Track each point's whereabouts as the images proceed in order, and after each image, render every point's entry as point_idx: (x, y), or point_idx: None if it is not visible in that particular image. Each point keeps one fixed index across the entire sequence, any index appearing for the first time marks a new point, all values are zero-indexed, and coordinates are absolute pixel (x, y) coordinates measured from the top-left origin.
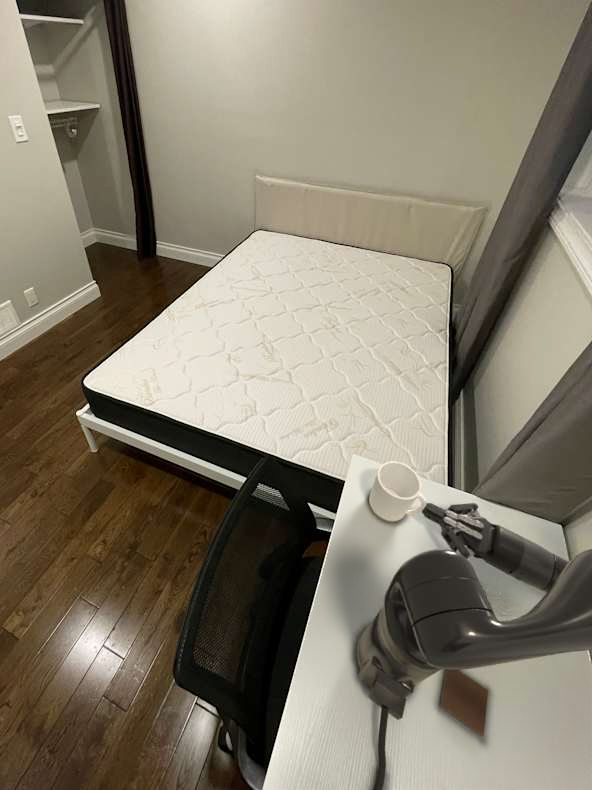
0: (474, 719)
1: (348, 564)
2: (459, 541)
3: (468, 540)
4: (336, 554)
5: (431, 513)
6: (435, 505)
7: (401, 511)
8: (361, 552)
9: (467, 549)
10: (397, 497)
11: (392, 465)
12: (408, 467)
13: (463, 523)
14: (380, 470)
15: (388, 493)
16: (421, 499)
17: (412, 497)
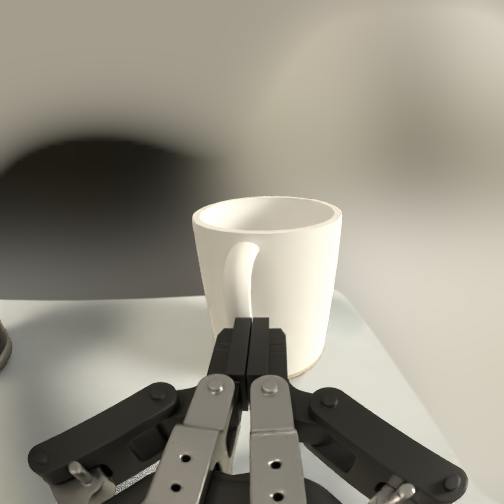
0: None
1: (99, 316)
2: (95, 438)
3: (121, 495)
4: (114, 302)
5: (228, 342)
6: (285, 348)
7: (215, 311)
8: (123, 328)
9: (84, 492)
10: (194, 215)
11: (316, 214)
12: (336, 212)
13: (247, 475)
14: (268, 199)
15: (199, 209)
16: (230, 252)
17: (213, 228)
